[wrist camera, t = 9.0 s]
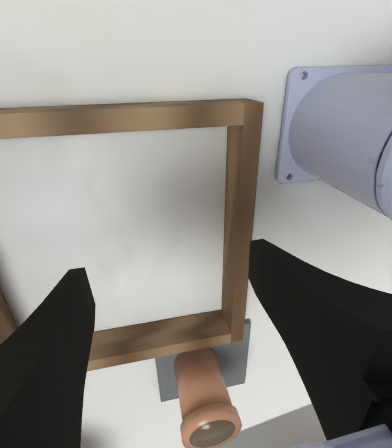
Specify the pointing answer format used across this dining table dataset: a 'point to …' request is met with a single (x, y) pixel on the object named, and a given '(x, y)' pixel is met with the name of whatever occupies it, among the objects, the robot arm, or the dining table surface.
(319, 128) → the robot arm
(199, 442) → the terracotta pot
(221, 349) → the mat
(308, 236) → the dining table surface
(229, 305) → the frame
